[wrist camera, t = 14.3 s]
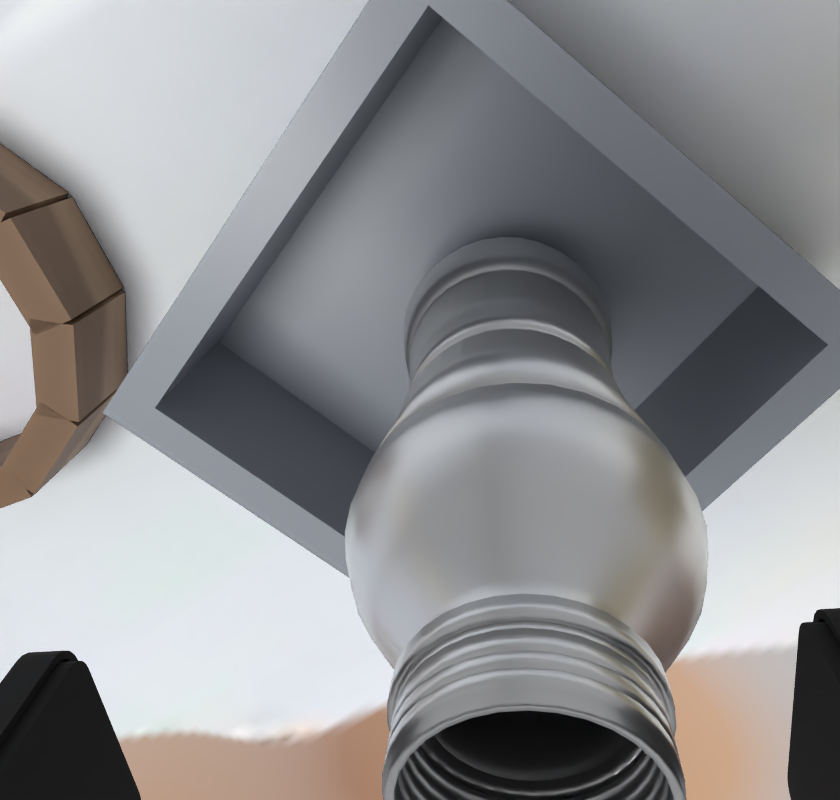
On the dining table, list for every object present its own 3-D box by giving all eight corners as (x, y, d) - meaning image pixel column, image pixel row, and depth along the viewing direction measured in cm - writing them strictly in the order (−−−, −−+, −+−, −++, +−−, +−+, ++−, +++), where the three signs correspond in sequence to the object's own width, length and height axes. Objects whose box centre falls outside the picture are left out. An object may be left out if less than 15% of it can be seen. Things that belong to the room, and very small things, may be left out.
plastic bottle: (421, 210, 27) (262, 550, 8) (620, 236, 26) (909, 645, 8) (401, 384, 29) (248, 933, 11) (582, 409, 29) (735, 1013, 11)
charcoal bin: (438, -42, 24) (418, -77, 18) (801, 272, 27) (895, 338, 21) (185, 337, 30) (102, 413, 24) (505, 562, 33) (508, 683, 27)
